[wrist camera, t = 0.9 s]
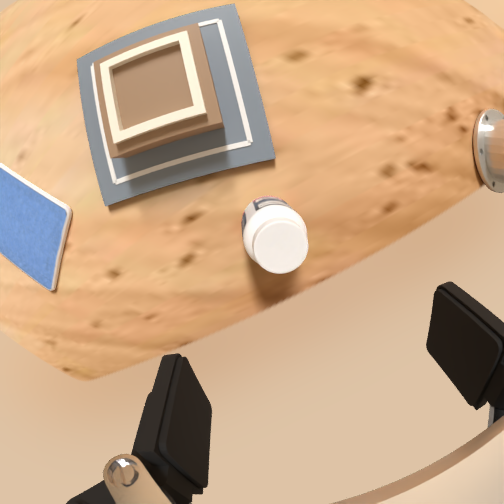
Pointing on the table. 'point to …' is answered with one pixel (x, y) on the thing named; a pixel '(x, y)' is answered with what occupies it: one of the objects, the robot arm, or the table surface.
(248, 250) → the pill bottle
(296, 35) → the table surface
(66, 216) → the blue rectangular panel
